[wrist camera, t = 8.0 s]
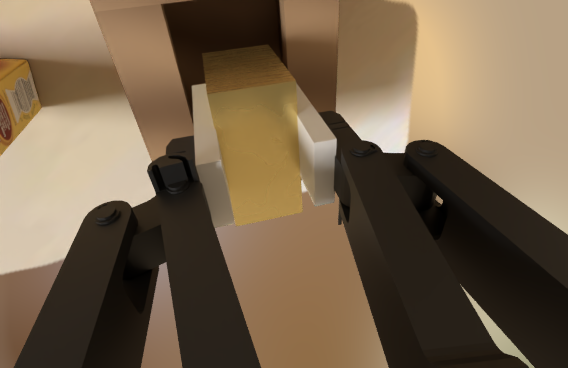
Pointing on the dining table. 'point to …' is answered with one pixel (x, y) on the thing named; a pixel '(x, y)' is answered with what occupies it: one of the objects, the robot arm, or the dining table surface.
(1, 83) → the candy box
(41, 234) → the dining table surface
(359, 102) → the dining table surface
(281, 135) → the wooden block
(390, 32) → the dining table surface
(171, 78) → the box
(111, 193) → the dining table surface
